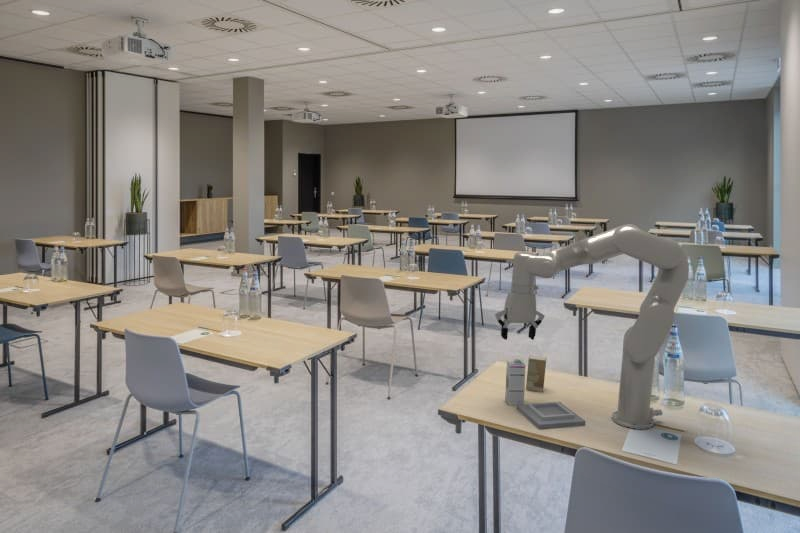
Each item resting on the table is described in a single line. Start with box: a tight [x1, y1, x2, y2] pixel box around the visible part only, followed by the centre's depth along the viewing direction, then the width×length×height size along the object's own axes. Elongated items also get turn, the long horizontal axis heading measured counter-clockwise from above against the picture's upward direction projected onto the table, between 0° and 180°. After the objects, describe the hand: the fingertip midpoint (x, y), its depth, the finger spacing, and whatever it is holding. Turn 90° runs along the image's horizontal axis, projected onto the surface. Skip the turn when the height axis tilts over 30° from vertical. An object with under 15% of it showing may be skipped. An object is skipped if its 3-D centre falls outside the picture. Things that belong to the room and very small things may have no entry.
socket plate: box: [515, 401, 587, 430], centre depth 189 cm, size 16×16×3 cm
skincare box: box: [525, 354, 547, 393], centre depth 213 cm, size 6×4×12 cm
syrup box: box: [504, 358, 527, 406], centre depth 200 cm, size 6×6×14 cm
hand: (517, 338), depth 198 cm, fingers open, 9 cm apart
